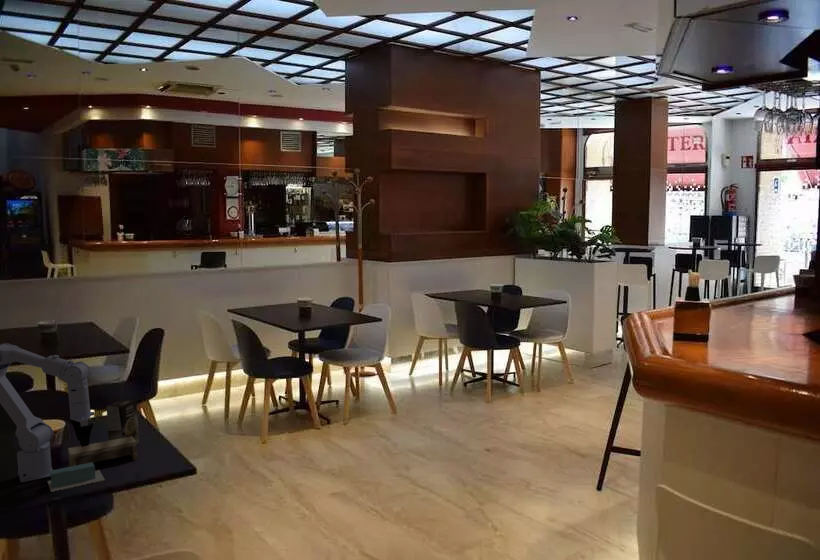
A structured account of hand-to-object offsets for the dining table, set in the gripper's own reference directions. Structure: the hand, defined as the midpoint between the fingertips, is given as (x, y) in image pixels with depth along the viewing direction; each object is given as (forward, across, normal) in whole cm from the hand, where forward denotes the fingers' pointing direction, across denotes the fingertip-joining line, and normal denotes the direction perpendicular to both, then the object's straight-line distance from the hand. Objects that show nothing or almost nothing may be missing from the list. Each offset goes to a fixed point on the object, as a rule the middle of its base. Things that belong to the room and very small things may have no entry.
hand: (83, 442), depth 219 cm
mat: (+10, -5, +4) cm, 12 cm away
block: (+10, -5, +4) cm, 12 cm away
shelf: (+10, +7, -6) cm, 14 cm away
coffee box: (+11, +20, -16) cm, 28 cm away
